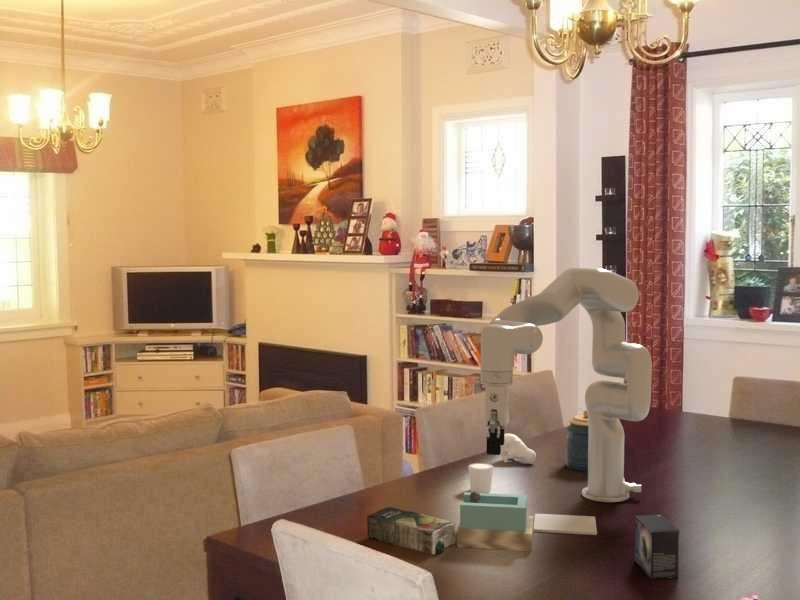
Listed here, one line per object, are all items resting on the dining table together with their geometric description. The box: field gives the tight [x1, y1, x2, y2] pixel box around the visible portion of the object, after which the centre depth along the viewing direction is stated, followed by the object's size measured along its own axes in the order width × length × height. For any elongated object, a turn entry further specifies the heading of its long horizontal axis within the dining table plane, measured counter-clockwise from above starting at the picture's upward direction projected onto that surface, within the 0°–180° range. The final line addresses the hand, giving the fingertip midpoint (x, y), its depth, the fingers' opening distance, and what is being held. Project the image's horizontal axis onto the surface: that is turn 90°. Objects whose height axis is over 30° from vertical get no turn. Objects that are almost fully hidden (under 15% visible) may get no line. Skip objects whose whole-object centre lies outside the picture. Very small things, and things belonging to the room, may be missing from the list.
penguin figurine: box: [500, 433, 537, 465], centre depth 283 cm, size 6×8×12 cm
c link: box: [459, 491, 528, 532], centre depth 214 cm, size 15×10×6 cm, turn 80°
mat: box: [533, 513, 598, 536], centre depth 224 cm, size 15×12×1 cm
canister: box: [565, 409, 589, 472], centre depth 277 cm, size 13×13×18 cm
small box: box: [634, 514, 680, 580], centre depth 195 cm, size 11×6×10 cm, turn 5°
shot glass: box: [468, 462, 494, 493], centre depth 253 cm, size 7×7×7 cm
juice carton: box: [366, 506, 456, 555], centre depth 213 cm, size 20×10×6 cm, turn 55°
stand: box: [456, 491, 535, 552], centre depth 214 cm, size 17×13×11 cm
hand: (495, 449), depth 214 cm, fingers open, 9 cm apart
